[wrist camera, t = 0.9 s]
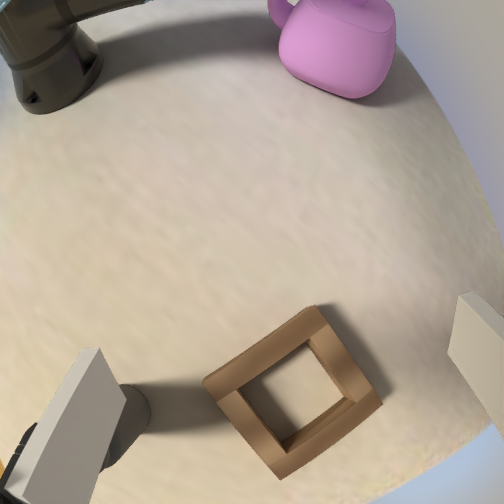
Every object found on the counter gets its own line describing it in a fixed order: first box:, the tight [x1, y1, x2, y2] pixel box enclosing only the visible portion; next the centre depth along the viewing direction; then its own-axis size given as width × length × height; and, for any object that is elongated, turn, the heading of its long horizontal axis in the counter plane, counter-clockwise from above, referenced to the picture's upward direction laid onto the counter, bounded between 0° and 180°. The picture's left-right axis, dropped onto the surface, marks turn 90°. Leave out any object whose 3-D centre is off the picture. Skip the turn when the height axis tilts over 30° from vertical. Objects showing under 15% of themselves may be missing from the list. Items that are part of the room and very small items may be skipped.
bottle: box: [99, 385, 150, 473], centre depth 22 cm, size 6×6×15 cm
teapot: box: [268, 0, 396, 99], centre depth 36 cm, size 23×21×15 cm
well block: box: [202, 305, 383, 480], centre depth 30 cm, size 13×13×4 cm
